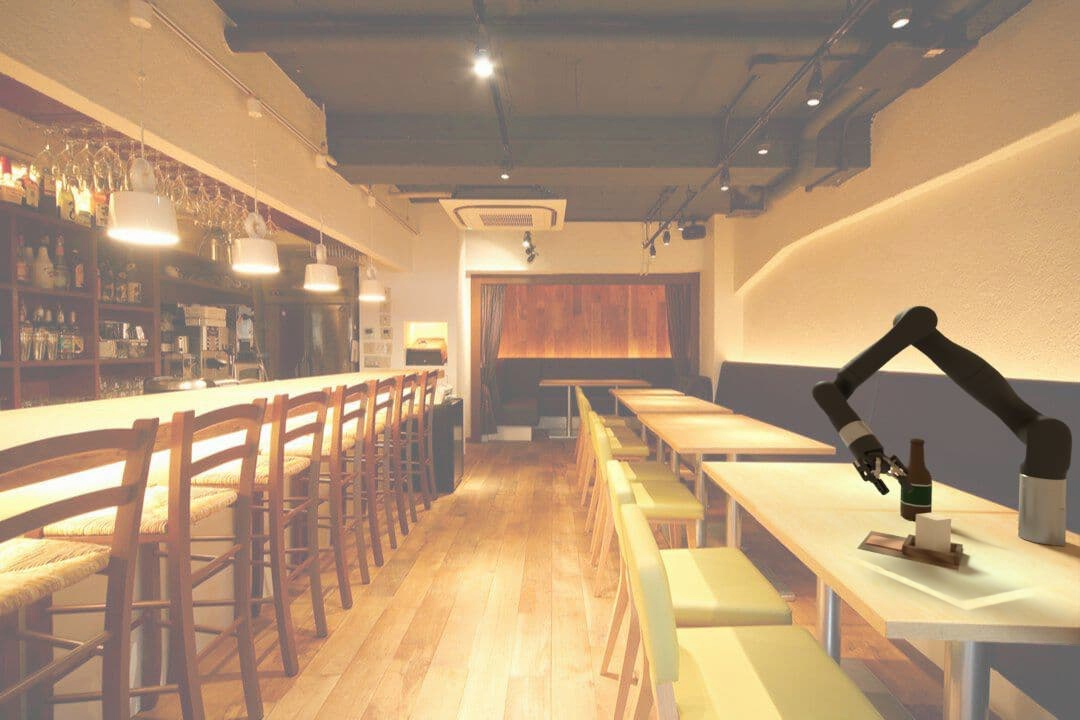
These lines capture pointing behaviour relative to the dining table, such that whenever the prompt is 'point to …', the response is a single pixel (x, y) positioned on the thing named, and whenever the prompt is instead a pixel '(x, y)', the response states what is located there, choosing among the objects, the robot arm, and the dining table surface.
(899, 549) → the puzzle board
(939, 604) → the dining table surface
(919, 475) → the beer bottle
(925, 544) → the cream block
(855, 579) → the dining table surface
